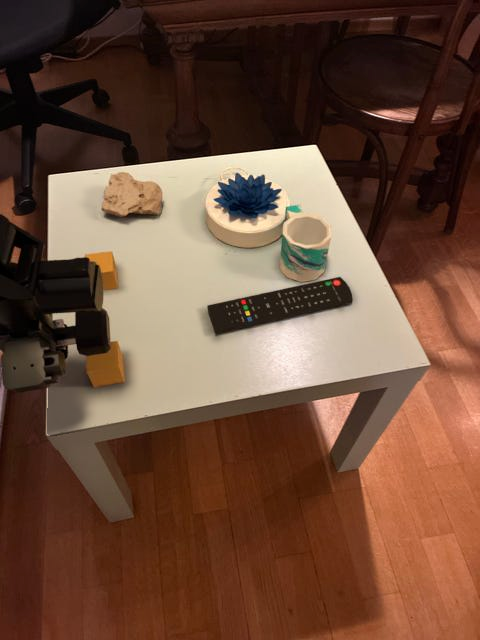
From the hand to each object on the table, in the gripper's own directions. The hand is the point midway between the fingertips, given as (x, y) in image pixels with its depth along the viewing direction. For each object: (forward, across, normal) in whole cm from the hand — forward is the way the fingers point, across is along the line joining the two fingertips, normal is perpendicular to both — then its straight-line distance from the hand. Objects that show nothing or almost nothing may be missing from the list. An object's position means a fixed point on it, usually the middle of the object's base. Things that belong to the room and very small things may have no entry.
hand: (54, 371), depth 70 cm
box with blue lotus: (+3, +34, +31) cm, 46 cm away
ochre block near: (+2, +7, 0) cm, 8 cm away
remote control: (+3, +36, +7) cm, 37 cm away
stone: (+3, +13, +36) cm, 39 cm away
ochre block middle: (+2, +7, +18) cm, 20 cm away
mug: (+3, +42, +18) cm, 45 cm away
